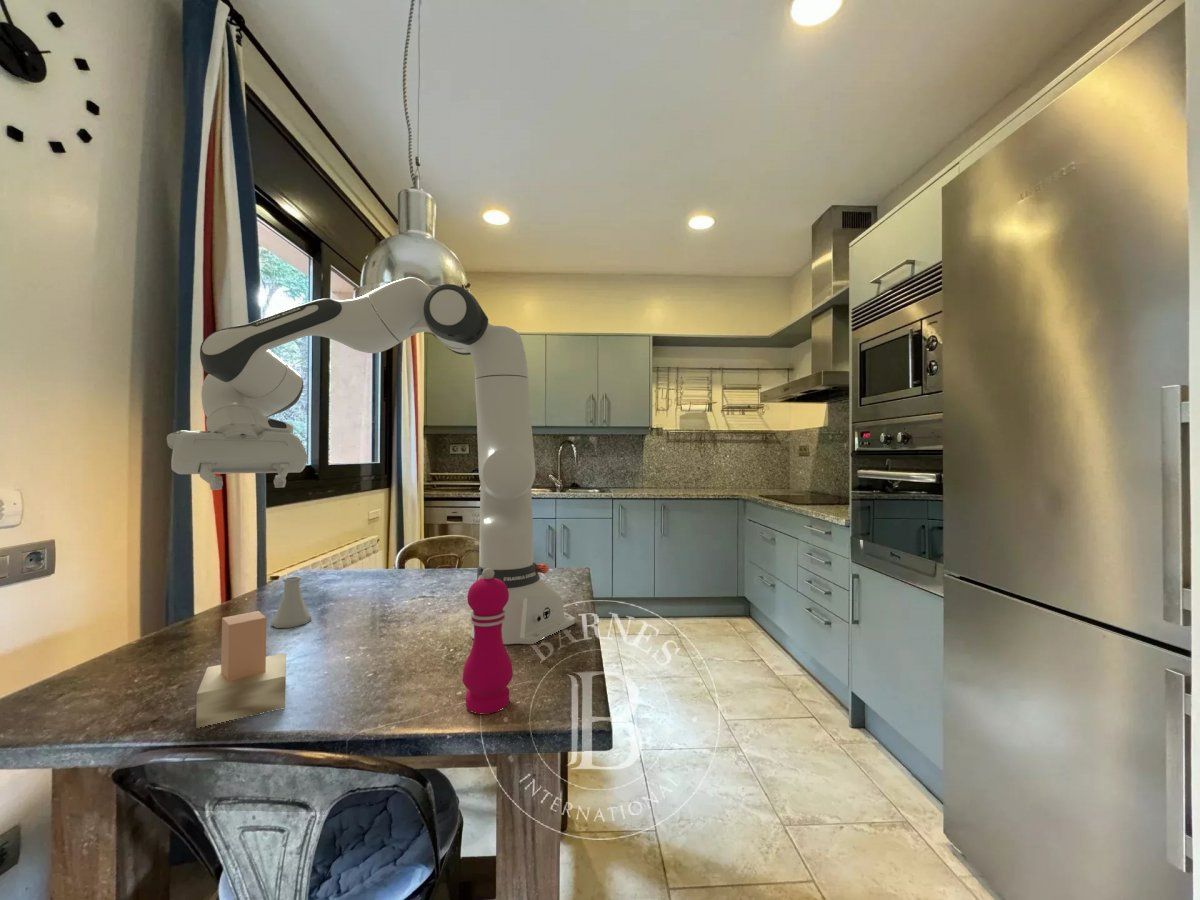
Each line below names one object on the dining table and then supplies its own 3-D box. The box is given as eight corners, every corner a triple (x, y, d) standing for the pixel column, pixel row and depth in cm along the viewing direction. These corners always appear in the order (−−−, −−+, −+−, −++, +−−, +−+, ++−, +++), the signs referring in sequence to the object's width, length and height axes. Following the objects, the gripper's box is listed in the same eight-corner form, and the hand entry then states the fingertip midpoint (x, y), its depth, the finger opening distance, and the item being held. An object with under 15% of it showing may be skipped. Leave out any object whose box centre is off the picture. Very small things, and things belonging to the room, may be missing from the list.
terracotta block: (257, 662, 75) (258, 610, 76) (265, 671, 72) (266, 617, 73) (221, 672, 72) (222, 617, 72) (228, 681, 69) (229, 624, 69)
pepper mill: (467, 693, 75) (468, 563, 76) (515, 691, 76) (515, 562, 76) (457, 717, 68) (458, 573, 69) (509, 715, 69) (510, 573, 69)
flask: (292, 630, 103) (292, 582, 103) (263, 628, 105) (264, 581, 105) (318, 619, 110) (318, 575, 111) (291, 617, 112) (291, 573, 112)
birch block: (285, 684, 79) (286, 653, 79) (284, 711, 71) (285, 676, 71) (207, 700, 74) (207, 667, 74) (196, 731, 65) (196, 693, 66)
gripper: (167, 417, 84) (175, 475, 78) (300, 424, 100) (317, 472, 93) (163, 443, 87) (170, 501, 81) (293, 446, 102) (308, 495, 96)
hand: (250, 486), depth 87 cm, fingers open, 8 cm apart
